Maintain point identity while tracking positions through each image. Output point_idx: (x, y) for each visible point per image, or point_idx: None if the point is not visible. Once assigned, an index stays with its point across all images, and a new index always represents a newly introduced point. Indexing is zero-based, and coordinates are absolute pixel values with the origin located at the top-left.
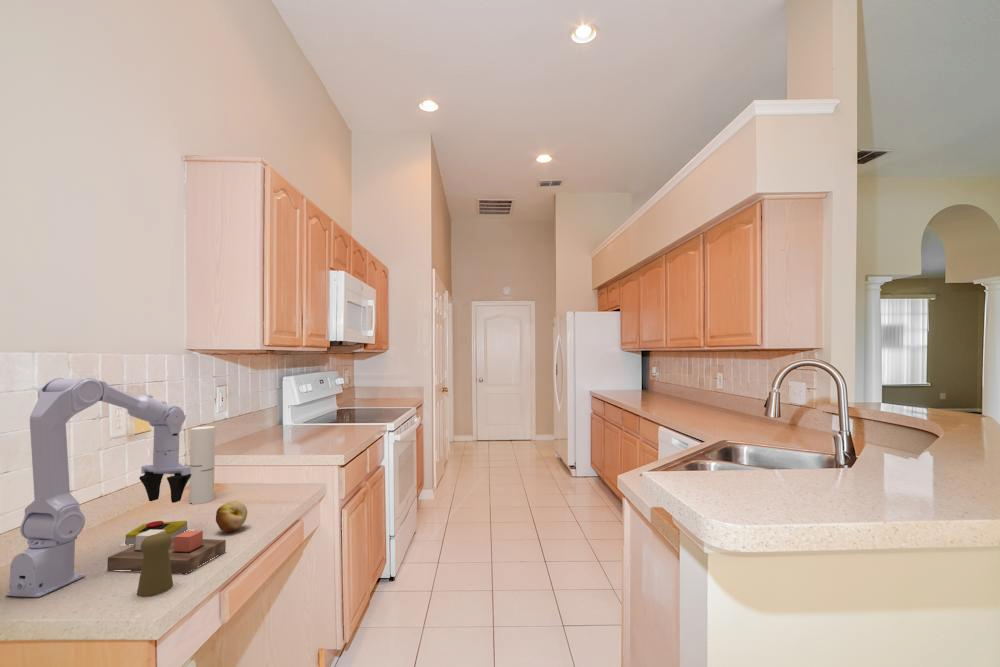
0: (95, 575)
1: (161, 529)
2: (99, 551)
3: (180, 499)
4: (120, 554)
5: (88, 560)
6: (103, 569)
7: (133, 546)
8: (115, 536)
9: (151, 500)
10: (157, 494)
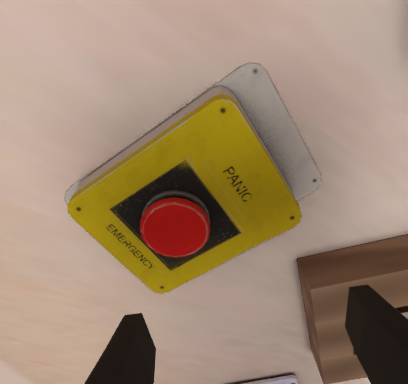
0: (307, 364)
1: (233, 223)
2: (145, 309)
3: (375, 293)
4: (340, 370)
5: (192, 339)
6: (292, 349)
7: (319, 340)
8: (19, 237)
9: (154, 351)
10: (136, 354)
